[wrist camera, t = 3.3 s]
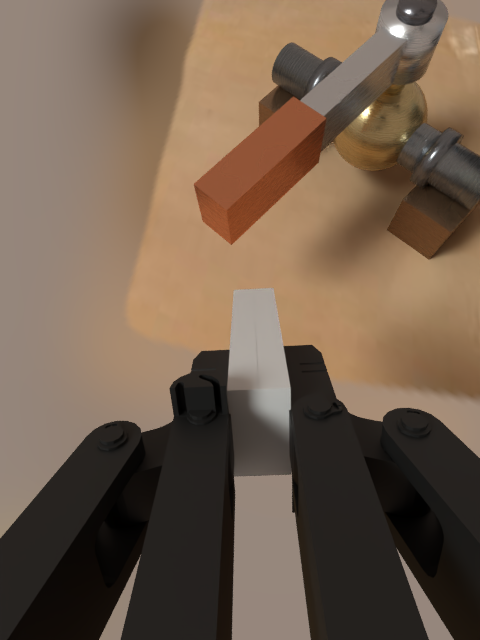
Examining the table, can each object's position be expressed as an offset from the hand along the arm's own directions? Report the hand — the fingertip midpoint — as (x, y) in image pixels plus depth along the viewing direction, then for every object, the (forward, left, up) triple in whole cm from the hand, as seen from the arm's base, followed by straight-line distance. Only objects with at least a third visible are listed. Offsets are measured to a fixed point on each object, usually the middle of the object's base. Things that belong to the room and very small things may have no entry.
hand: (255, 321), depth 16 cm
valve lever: (+1, -14, -4) cm, 14 cm away
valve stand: (-2, -20, -14) cm, 25 cm away
